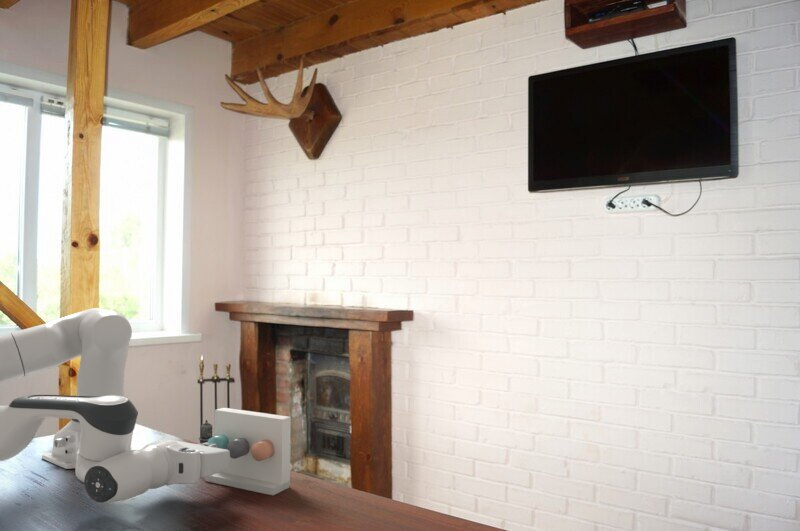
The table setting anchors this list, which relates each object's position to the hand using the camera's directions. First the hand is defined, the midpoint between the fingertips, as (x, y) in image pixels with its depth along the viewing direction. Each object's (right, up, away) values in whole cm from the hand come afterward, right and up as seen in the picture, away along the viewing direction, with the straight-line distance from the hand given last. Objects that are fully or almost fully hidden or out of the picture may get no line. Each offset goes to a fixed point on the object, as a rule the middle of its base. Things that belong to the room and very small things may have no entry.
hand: (212, 446), depth 143 cm
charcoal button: (+6, -2, -1) cm, 7 cm away
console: (+7, -9, +1) cm, 12 cm away
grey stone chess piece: (-6, -9, +13) cm, 17 cm away
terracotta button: (+12, -2, -3) cm, 12 cm away
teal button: (+1, -2, +2) cm, 3 cm away
